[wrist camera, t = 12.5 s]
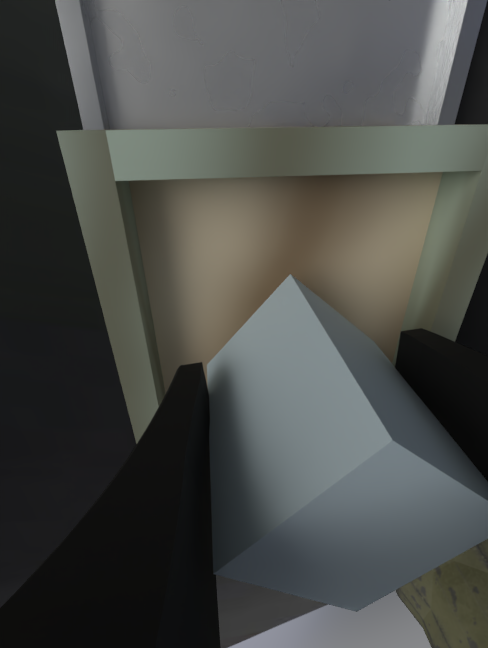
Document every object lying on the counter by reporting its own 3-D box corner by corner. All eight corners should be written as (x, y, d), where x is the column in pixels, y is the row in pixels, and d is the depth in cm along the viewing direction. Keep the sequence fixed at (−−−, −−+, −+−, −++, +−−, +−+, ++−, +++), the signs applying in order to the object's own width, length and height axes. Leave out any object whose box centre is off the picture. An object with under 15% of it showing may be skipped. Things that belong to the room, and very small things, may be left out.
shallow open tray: (428, 124, 12) (535, 123, 8) (364, 399, 18) (407, 470, 15) (106, 129, 11) (56, 131, 7) (161, 418, 17) (151, 499, 14)
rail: (487, -159, 9) (689, -360, 5) (358, 413, 21) (395, 479, 17) (34, -192, 8) (-110, -472, 4) (159, 432, 19) (149, 508, 16)
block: (374, 341, 11) (519, 520, 6) (292, 413, 13) (356, 611, 7) (290, 274, 10) (392, 440, 5) (206, 364, 11) (213, 574, 6)
